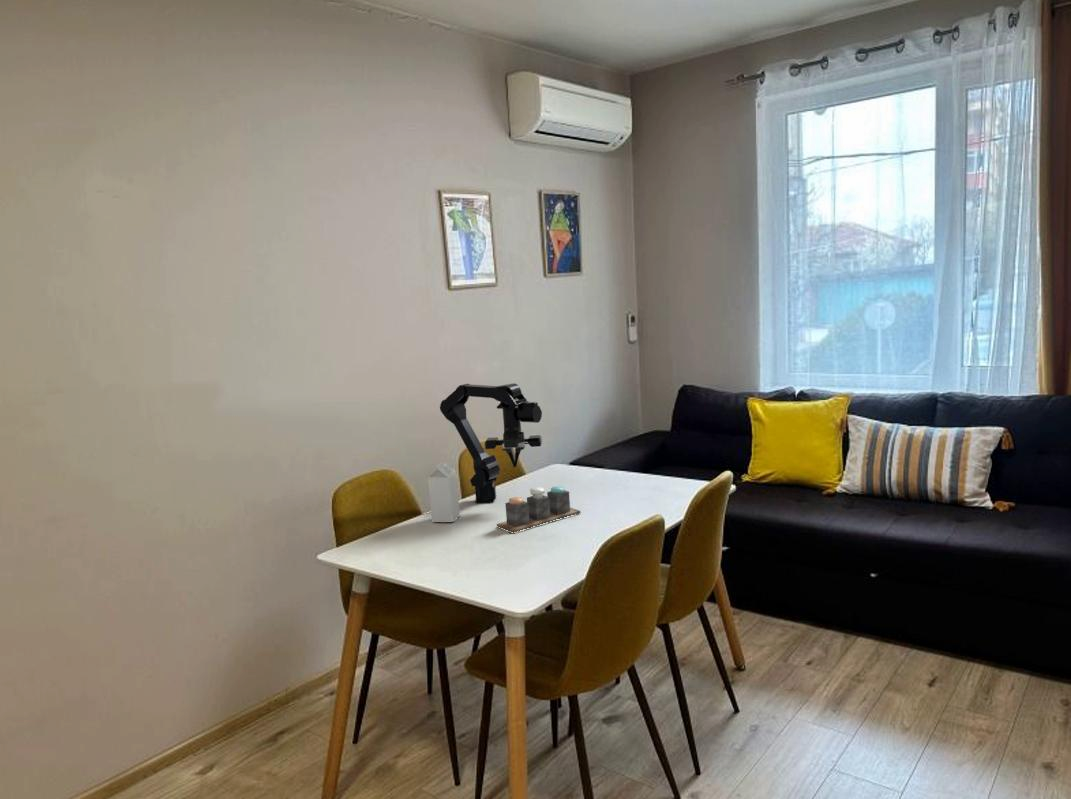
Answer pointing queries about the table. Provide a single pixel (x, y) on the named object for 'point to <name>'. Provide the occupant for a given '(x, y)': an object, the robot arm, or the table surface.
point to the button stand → (537, 511)
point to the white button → (537, 492)
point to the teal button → (557, 490)
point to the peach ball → (516, 501)
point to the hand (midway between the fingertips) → (515, 467)
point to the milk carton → (443, 494)
